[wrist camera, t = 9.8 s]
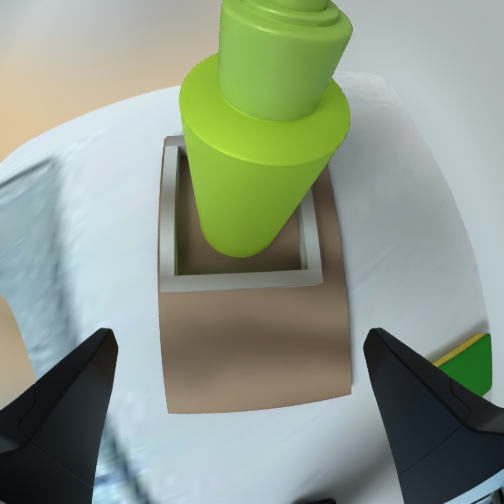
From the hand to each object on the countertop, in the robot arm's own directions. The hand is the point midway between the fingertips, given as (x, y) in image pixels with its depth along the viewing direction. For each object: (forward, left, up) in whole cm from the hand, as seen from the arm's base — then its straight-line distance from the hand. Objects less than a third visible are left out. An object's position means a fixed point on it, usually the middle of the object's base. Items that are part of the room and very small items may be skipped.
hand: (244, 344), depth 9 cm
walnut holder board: (+5, -2, -12) cm, 13 cm away
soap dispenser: (+8, -1, -11) cm, 14 cm away
